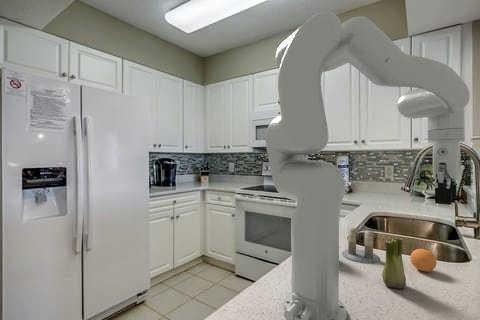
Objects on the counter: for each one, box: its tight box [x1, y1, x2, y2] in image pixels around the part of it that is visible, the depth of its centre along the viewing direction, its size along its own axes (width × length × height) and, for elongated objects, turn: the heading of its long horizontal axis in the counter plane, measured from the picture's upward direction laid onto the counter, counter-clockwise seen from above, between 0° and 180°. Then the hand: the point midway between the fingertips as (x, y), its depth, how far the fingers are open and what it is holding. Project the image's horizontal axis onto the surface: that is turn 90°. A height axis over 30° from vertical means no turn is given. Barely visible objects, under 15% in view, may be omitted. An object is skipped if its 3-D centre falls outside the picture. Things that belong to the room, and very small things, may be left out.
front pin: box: [364, 229, 374, 259], centre depth 79 cm, size 2×2×8 cm
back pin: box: [347, 227, 357, 255], centre depth 83 cm, size 2×2×8 cm
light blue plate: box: [341, 248, 381, 264], centre depth 81 cm, size 11×11×1 cm
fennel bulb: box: [381, 237, 407, 290], centre depth 62 cm, size 6×5×12 cm
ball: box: [409, 248, 437, 272], centre depth 71 cm, size 6×6×6 cm
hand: (446, 201), depth 66 cm, fingers open, 9 cm apart
